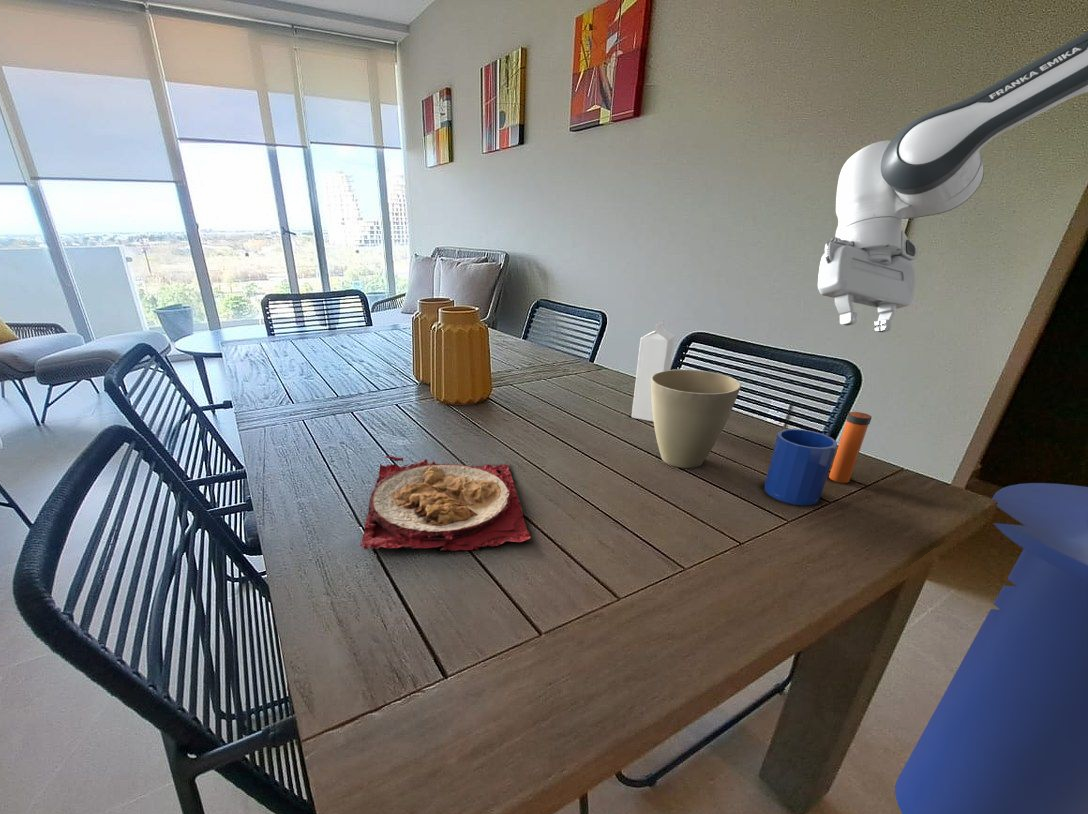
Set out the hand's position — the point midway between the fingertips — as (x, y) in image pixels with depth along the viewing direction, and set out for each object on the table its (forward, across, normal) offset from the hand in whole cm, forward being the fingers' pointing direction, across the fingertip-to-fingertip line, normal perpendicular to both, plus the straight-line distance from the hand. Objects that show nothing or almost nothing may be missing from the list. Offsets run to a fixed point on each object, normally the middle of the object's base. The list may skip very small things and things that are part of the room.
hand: (865, 327), depth 81 cm
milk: (+13, -11, +41) cm, 44 cm away
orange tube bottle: (+26, 0, +4) cm, 26 cm away
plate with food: (+32, -66, +25) cm, 77 cm away
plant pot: (+23, -20, +20) cm, 37 cm away
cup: (+28, -12, +4) cm, 31 cm away
